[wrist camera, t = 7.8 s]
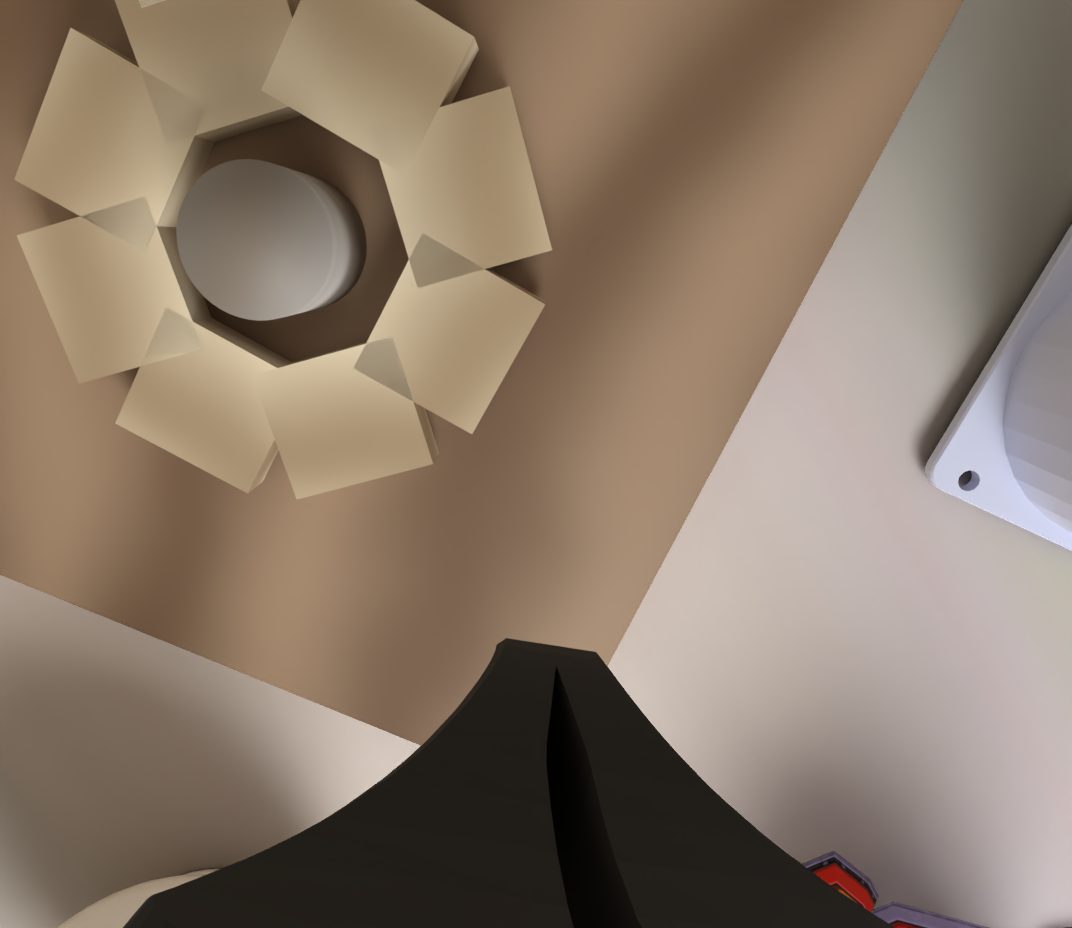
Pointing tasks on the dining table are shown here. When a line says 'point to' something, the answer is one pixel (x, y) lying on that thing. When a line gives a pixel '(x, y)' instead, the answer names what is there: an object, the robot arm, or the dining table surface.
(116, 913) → the lidded jar
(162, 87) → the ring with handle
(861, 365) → the dining table surface
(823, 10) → the post board
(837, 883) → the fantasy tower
